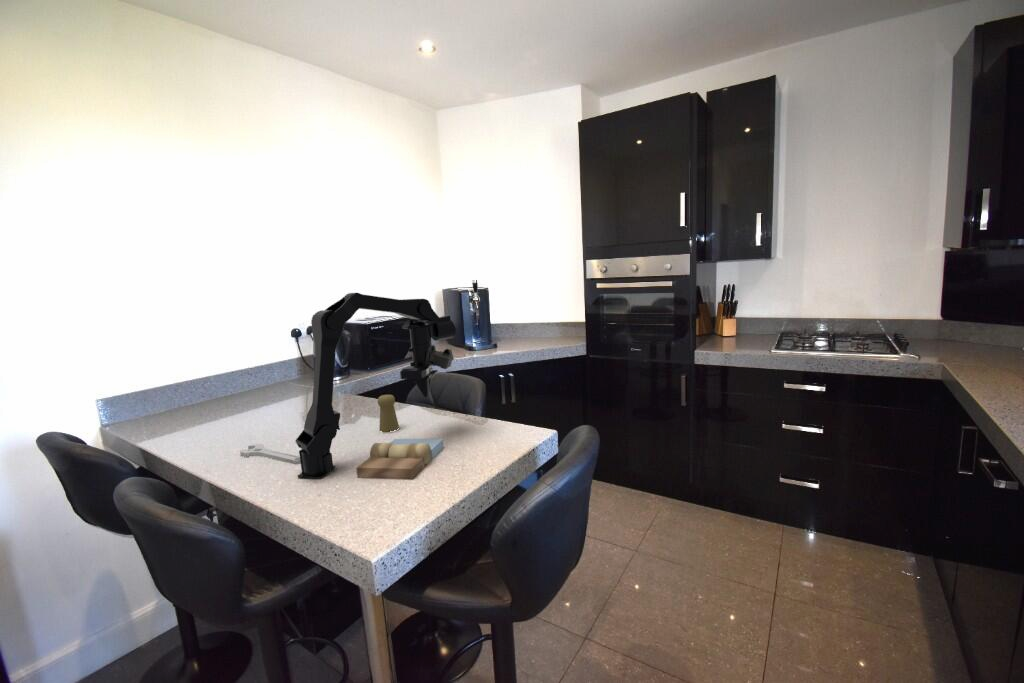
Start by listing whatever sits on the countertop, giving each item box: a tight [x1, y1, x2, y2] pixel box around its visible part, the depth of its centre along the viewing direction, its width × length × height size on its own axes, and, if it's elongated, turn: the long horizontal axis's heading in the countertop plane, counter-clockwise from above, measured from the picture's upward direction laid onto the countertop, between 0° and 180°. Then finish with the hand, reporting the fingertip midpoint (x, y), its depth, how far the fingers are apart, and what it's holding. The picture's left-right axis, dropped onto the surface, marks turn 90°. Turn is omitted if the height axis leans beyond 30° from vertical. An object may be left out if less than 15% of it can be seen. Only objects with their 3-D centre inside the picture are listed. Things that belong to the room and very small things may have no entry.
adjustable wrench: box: [239, 443, 301, 465], centre depth 125 cm, size 25×6×2 cm, turn 56°
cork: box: [377, 394, 400, 432], centre depth 141 cm, size 6×6×11 cm
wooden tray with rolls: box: [356, 442, 431, 480], centre depth 111 cm, size 14×11×5 cm
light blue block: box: [388, 438, 445, 460], centre depth 118 cm, size 14×13×5 cm
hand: (426, 396), depth 131 cm, fingers closed
